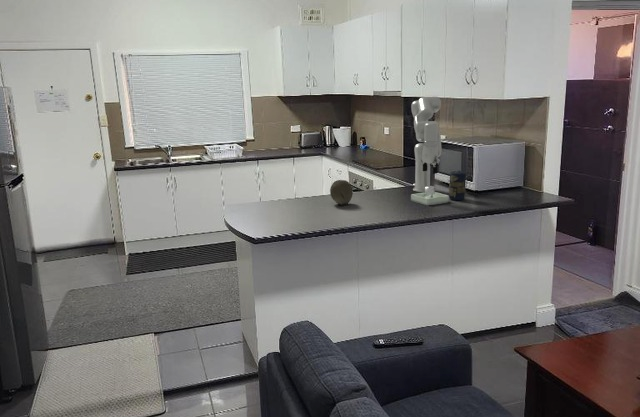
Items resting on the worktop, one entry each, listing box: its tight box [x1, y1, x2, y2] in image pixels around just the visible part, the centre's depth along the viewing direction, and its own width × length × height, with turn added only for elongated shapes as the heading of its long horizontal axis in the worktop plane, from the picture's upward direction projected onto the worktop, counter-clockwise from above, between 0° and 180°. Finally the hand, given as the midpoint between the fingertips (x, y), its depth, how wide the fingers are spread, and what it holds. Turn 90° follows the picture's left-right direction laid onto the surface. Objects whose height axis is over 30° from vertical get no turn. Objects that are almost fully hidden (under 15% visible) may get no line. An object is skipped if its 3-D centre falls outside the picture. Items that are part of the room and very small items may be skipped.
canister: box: [448, 170, 467, 201], centre depth 317 cm, size 10×10×18 cm
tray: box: [410, 191, 450, 206], centre depth 316 cm, size 16×16×4 cm
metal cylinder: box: [425, 185, 436, 198], centre depth 315 cm, size 6×6×8 cm
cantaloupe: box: [329, 179, 354, 206], centre depth 315 cm, size 14×14×15 cm
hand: (430, 172), depth 313 cm, fingers open, 9 cm apart
